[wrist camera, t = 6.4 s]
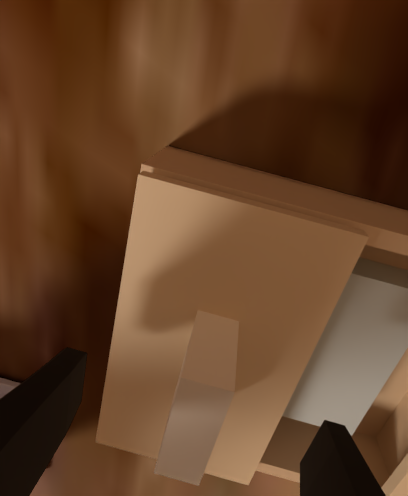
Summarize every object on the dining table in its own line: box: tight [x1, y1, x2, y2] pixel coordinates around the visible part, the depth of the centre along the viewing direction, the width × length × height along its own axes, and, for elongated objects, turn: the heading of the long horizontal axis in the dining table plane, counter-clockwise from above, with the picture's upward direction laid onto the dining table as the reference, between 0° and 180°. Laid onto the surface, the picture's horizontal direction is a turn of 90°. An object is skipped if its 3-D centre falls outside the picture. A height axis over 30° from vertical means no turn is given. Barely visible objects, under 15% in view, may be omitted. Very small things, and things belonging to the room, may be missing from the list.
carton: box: [140, 146, 408, 488], centre depth 15 cm, size 14×12×4 cm
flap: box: [96, 171, 369, 486], centre depth 11 cm, size 7×12×4 cm, turn 166°
